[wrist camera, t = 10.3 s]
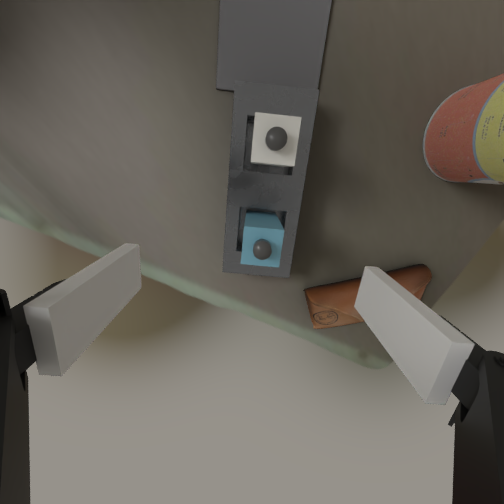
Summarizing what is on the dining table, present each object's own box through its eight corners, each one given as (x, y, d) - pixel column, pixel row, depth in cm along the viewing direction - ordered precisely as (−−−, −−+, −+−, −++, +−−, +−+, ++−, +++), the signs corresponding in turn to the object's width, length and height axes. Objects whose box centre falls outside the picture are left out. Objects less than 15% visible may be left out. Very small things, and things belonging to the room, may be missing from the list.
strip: (285, 266, 37) (289, 278, 33) (225, 261, 37) (222, 271, 33) (311, 99, 30) (319, 89, 26) (237, 91, 30) (234, 80, 26)
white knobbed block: (251, 163, 32) (250, 161, 21) (254, 129, 30) (255, 108, 20) (282, 167, 32) (296, 166, 21) (286, 133, 31) (304, 114, 20)
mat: (216, 89, 30) (216, 88, 29) (222, -44, 26) (222, -47, 25) (315, 100, 30) (315, 99, 30) (335, -29, 26) (336, -32, 26)
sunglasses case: (311, 332, 41) (316, 338, 34) (300, 290, 42) (303, 288, 36) (423, 309, 39) (451, 311, 33) (408, 266, 41) (431, 260, 34)
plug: (244, 238, 35) (240, 268, 24) (246, 210, 34) (243, 229, 23) (271, 240, 35) (280, 272, 24) (275, 212, 34) (285, 233, 23)
